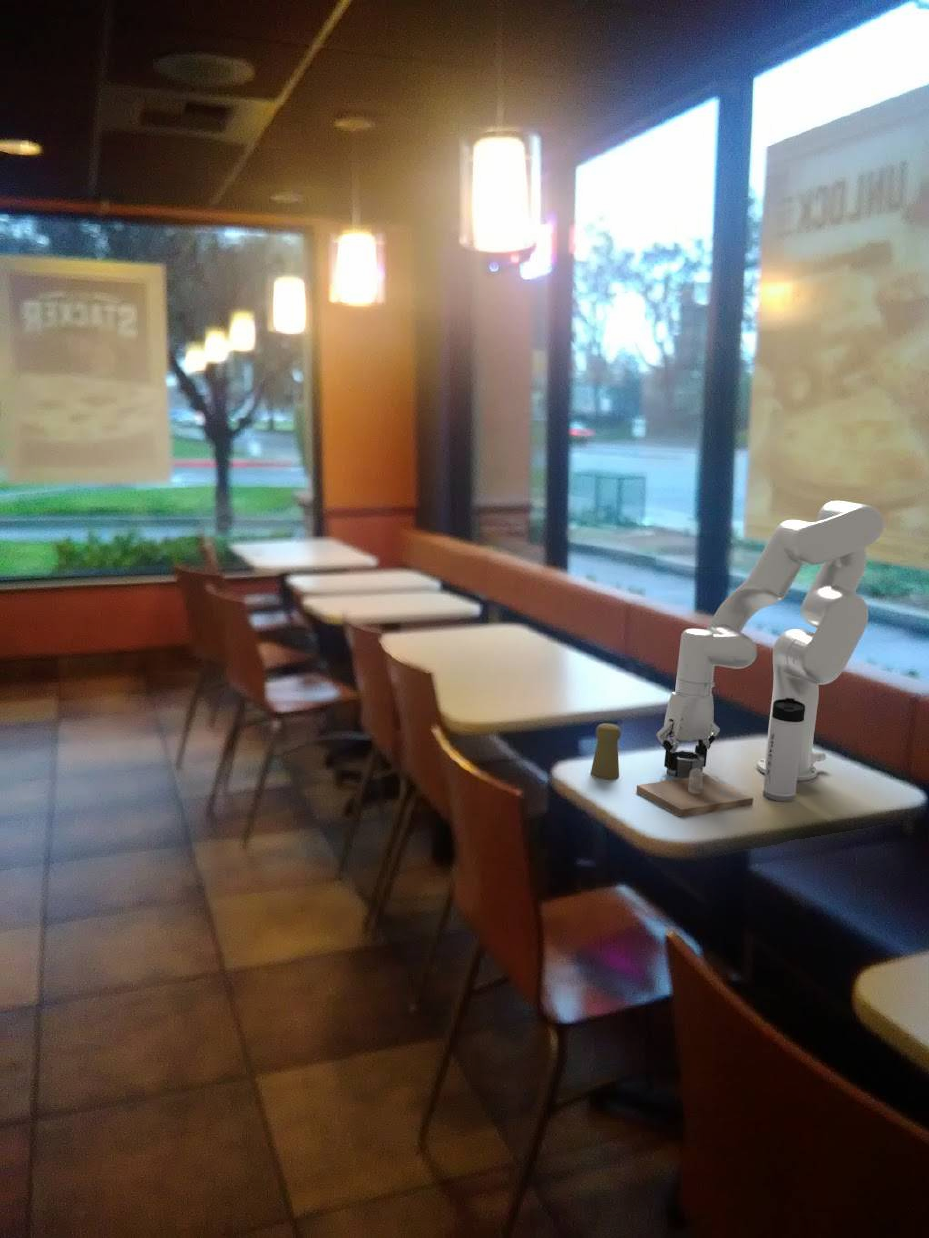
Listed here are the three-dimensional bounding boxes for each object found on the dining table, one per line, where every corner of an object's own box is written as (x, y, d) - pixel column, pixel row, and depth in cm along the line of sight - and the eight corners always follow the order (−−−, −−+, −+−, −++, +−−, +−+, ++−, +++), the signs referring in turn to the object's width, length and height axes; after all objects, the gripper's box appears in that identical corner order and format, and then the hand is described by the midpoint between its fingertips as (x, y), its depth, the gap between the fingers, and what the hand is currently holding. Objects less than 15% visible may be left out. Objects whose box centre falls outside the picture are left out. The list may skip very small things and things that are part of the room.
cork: (618, 781, 213) (622, 730, 211) (589, 777, 214) (593, 727, 212) (620, 771, 219) (624, 722, 217) (591, 768, 220) (595, 719, 218)
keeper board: (705, 781, 215) (708, 753, 214) (752, 804, 203) (755, 774, 202) (636, 792, 207) (639, 762, 206) (681, 817, 195) (684, 785, 194)
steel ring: (687, 765, 225) (688, 748, 225) (709, 776, 219) (711, 758, 218) (660, 769, 222) (661, 751, 221) (682, 780, 215) (683, 762, 215)
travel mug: (795, 793, 211) (806, 699, 207) (794, 803, 205) (805, 707, 201) (763, 788, 213) (774, 695, 209) (762, 798, 207) (772, 703, 203)
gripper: (713, 680, 224) (704, 757, 228) (649, 685, 216) (641, 765, 219) (737, 689, 218) (727, 768, 221) (672, 694, 210) (663, 776, 213)
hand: (684, 766), depth 220 cm, fingers closed on steel ring, 7 cm apart
